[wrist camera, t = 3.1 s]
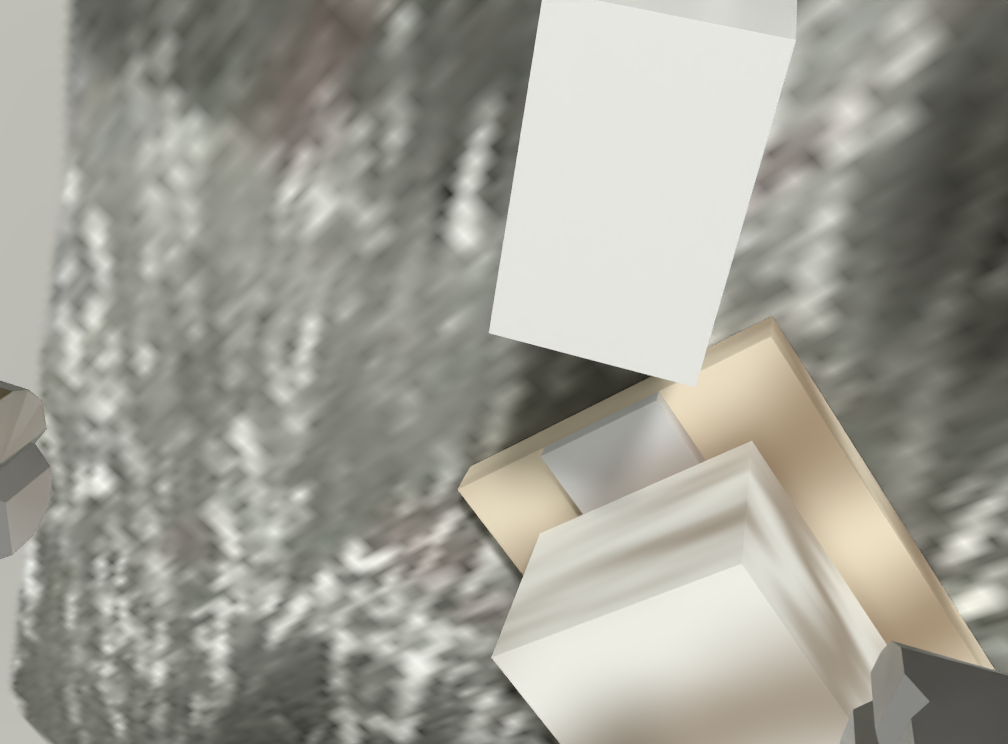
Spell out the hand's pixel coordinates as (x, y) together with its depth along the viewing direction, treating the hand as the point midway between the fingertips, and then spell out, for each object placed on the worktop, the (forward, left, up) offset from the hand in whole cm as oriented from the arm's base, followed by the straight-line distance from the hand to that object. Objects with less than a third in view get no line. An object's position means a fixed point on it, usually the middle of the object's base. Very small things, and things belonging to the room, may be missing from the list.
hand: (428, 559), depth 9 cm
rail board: (-12, +22, -21) cm, 33 cm away
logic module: (0, 0, -21) cm, 21 cm away
